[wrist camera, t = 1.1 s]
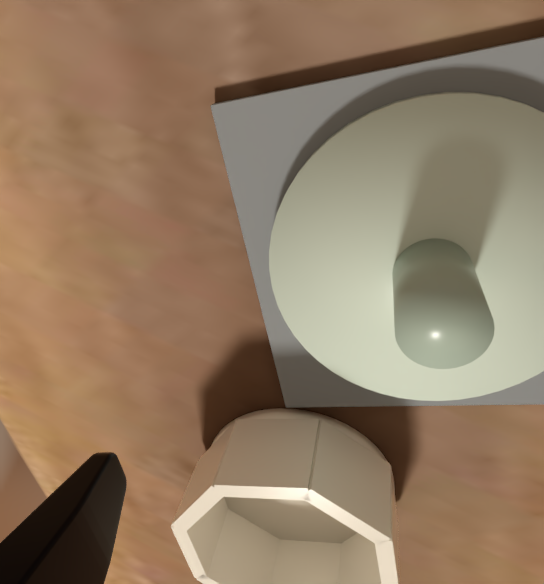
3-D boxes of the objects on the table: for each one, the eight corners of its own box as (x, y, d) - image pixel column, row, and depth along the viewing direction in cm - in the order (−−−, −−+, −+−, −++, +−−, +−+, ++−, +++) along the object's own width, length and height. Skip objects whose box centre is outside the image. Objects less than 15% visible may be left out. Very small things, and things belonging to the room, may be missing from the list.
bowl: (385, 406, 24) (385, 491, 20) (401, 543, 29) (405, 633, 25) (187, 409, 27) (150, 482, 23) (233, 532, 32) (210, 611, 28)
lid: (643, 52, 14) (747, 66, 10) (597, 385, 20) (651, 477, 16) (241, 128, 18) (199, 161, 14) (301, 392, 24) (284, 469, 20)
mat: (681, 8, 14) (690, 8, 14) (615, 395, 21) (620, 403, 20) (214, 103, 18) (210, 105, 18) (287, 400, 25) (286, 407, 25)
